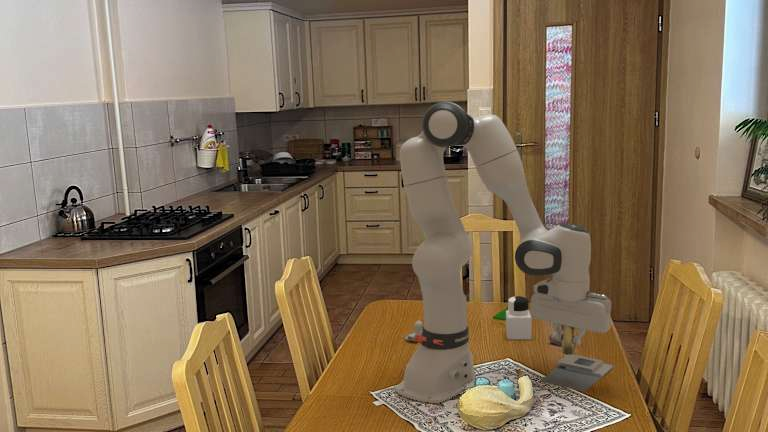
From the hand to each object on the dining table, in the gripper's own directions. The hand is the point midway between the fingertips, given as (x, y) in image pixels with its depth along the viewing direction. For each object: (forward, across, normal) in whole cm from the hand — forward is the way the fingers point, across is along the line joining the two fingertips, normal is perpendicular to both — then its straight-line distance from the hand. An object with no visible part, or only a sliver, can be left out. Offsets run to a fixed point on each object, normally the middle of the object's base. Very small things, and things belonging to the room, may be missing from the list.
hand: (568, 342), depth 178 cm
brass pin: (+3, 0, 0) cm, 3 cm away
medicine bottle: (+12, +27, -26) cm, 39 cm away
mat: (+11, -1, -5) cm, 12 cm away
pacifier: (+13, +52, -7) cm, 54 cm away
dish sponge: (+13, +37, -40) cm, 56 cm away
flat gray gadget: (+10, -1, -9) cm, 13 cm away
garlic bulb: (+12, +13, -26) cm, 31 cm away
